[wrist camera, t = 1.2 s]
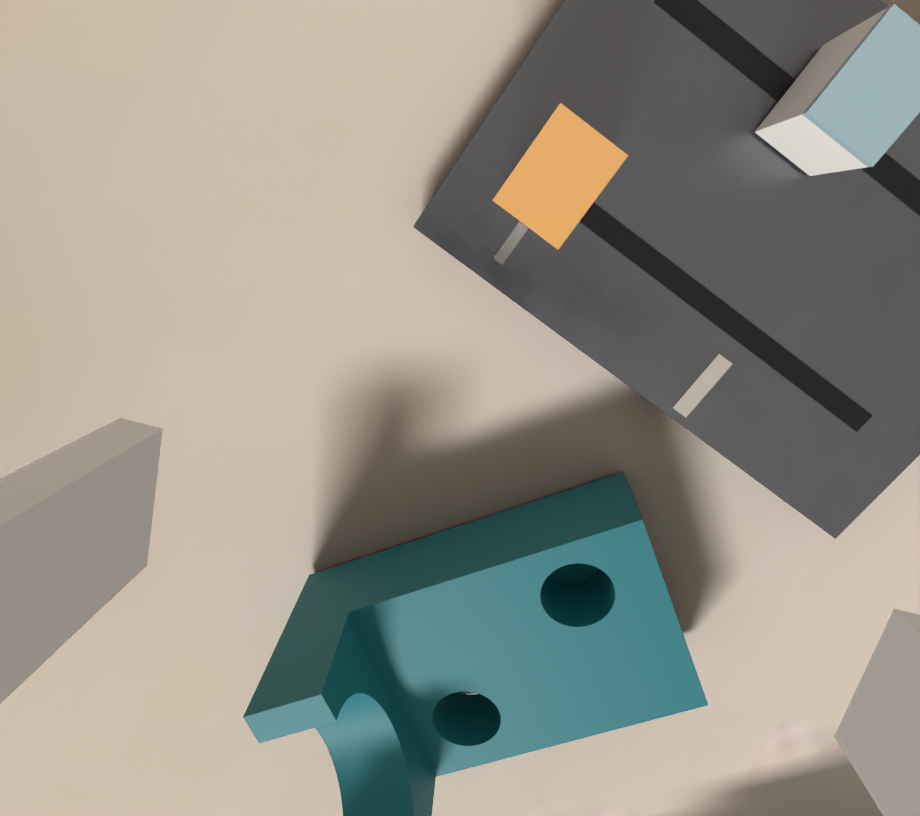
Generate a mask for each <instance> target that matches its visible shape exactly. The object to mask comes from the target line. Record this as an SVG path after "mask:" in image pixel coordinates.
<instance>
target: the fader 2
mask: <svg viewBox="0 0 920 816" xmlns="http://www.w3.org/2000/svg"><path fill="white" fill-rule="evenodd" d="M919 113H920V25H919V24H918V23H917V22H916V21H915V20H913V19H912V18H911V17H910V16H909V15H907V14H906V13H905V12H904V11H903V10H901V9H900V8H899V7H898V6H897V5H895V4H893V5H891V6H889V7H888V8H886V9H884V10H882V11H881V12H879V13H877V14H875V15H874V16H872V17H870V18H869V19H867V20H865V21H863V22H862V23H860V24H858V25H856V26H855V27H853V28H851V29H850V30H848V31H846V32H844V33H843V34H841V35H839V36H837V37H836V38H834V39H832V40H830V41H829V42H827V43H825V44H824V45H823V46H822V47H821V48H820V50H819V51H818V52H817V53H816V55H815V56H814V57H813V59H812V60H811V61H810V62H809V64H808V65H807V66H806V67H805V69H804V70H803V71H802V72H801V74H800V75H799V76H798V78H797V79H796V80H795V81H794V83H793V84H792V85H791V86H790V88H789V89H788V90H787V91H786V93H785V94H784V95H783V97H782V98H781V99H780V100H779V102H778V103H777V104H776V105H775V107H774V108H773V109H772V110H771V112H770V113H769V114H768V116H767V117H766V118H765V119H764V121H763V122H762V123H761V124H760V126H759V127H758V128H757V129H756V131H755V133H756V134H757V135H759V136H760V137H761V138H763V139H764V140H765V141H766V142H768V143H769V144H770V145H771V146H773V147H774V148H775V149H776V150H778V151H779V152H780V153H781V154H783V155H784V156H785V157H786V158H788V159H789V160H790V161H791V162H793V163H794V164H795V165H796V166H798V167H799V168H800V169H801V170H803V171H804V172H805V173H806V174H808V175H809V176H813V175H820V174H827V173H833V172H840V171H847V170H853V169H860V168H866V167H873V166H874V165H875V164H876V163H877V162H878V160H879V159H880V158H881V157H882V156H883V155H884V153H885V152H886V151H887V150H888V149H889V148H890V146H891V145H892V144H893V143H894V142H895V141H896V139H897V138H898V137H899V136H900V135H901V134H902V132H903V131H904V130H905V129H906V128H907V127H908V125H909V124H910V123H911V122H912V121H913V120H914V118H915V117H916V116H917V115H918V114H919Z"/></svg>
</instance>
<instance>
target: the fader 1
mask: <svg viewBox="0 0 920 816" xmlns="http://www.w3.org/2000/svg"><path fill="white" fill-rule="evenodd" d="M627 157H628V155H627V154H626V153H625V152H623V151H622V150H621V149H620V148H618V147H617V146H616V145H614V144H613V143H612V142H610V141H609V140H608V139H607V138H605V137H604V136H603V135H601V134H600V133H599V132H598V131H596V130H595V129H594V128H592V127H591V126H590V125H589V124H587V123H586V122H585V121H583V120H582V119H581V118H580V117H578V116H577V115H576V114H574V113H573V112H572V111H571V110H569V109H568V108H567V107H565V106H564V105H563V104H562V103H560V104H559V105H558V107H557V108H556V110H555V111H554V113H553V114H552V115H551V117H550V118H549V120H548V121H547V123H546V124H545V126H544V127H543V128H542V130H541V131H540V133H539V134H538V136H537V137H536V138H535V140H534V141H533V143H532V144H531V146H530V147H529V148H528V150H527V151H526V153H525V154H524V156H523V157H522V159H521V160H520V161H519V163H518V164H517V166H516V167H515V169H514V170H513V171H512V173H511V174H510V176H509V177H508V179H507V180H506V181H505V183H504V184H503V186H502V187H501V189H500V190H499V192H498V193H497V194H496V196H495V197H494V199H493V200H492V201H494V202H495V203H496V204H498V205H499V206H500V207H502V208H503V209H504V210H506V211H507V212H508V213H510V214H511V215H512V216H514V217H515V218H516V219H518V220H519V221H520V222H522V223H523V224H524V225H526V226H527V227H528V228H530V229H531V230H532V231H534V232H535V233H536V234H538V235H539V236H540V237H542V238H543V239H544V240H546V241H547V242H548V243H550V244H551V245H552V246H554V247H555V248H556V249H558V250H559V248H560V247H561V246H562V244H563V243H564V241H565V240H566V239H567V237H568V236H569V235H570V233H571V232H572V231H573V229H574V228H575V227H576V225H577V224H578V223H579V221H580V220H581V219H582V217H583V216H584V215H585V213H586V212H587V210H588V209H589V208H590V206H591V205H592V204H593V202H594V201H595V200H596V198H597V197H598V196H599V194H600V193H601V192H602V190H603V189H604V188H605V186H606V185H607V184H608V182H609V181H610V180H611V178H612V177H613V175H614V174H615V173H616V171H617V170H618V169H619V167H620V166H621V165H622V163H623V162H624V161H625V159H626V158H627Z"/></svg>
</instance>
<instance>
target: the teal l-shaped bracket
mask: <svg viewBox="0 0 920 816" xmlns="http://www.w3.org/2000/svg"><path fill="white" fill-rule="evenodd" d="M458 692H474V693H478V694H476V695H466V694H461V693H458ZM706 705H708V703H707V700H706V698H705V695H704V692H703V689H702V686H701V683H700V681H699V678H698V675H697V672H696V669H695V666H694V664H693V661H692V658H691V655H690V652H689V649H688V647H687V644H686V641H685V638H684V635H683V632H682V630H681V627H680V624H679V621H678V618H677V615H676V613H675V610H674V607H673V604H672V601H671V598H670V596H669V593H668V590H667V587H666V584H665V581H664V579H663V576H662V573H661V570H660V567H659V564H658V562H657V559H656V556H655V553H654V550H653V547H652V545H651V542H650V539H649V536H648V533H647V530H646V528H645V525H644V522H643V519H642V517H641V514H640V512H639V509H638V507H637V504H636V502H635V499H634V497H633V494H632V492H631V489H630V487H629V485H628V482H627V480H626V477H625V475H624V472H621V473H618V474H615V475H612V476H609V477H605V478H602V479H599V480H596V481H593V482H590V483H587V484H584V485H581V486H578V487H575V488H572V489H569V490H566V491H563V492H560V493H557V494H554V495H551V496H548V497H545V498H542V499H539V500H536V501H533V502H530V503H526V504H523V505H520V506H517V507H514V508H511V509H508V510H505V511H502V512H499V513H496V514H493V515H490V516H487V517H484V518H481V519H478V520H475V521H472V522H469V523H466V524H463V525H460V526H457V527H454V528H451V529H447V530H444V531H441V532H438V533H435V534H432V535H429V536H426V537H423V538H420V539H417V540H414V541H411V542H408V543H405V544H402V545H399V546H396V547H393V548H390V549H387V550H384V551H381V552H378V553H375V554H372V555H368V556H365V557H362V558H359V559H356V560H353V561H350V562H347V563H344V564H341V565H338V566H335V567H332V568H329V569H326V570H323V571H320V572H317V573H314V574H311V575H309V577H308V579H307V581H306V583H305V585H304V588H303V590H302V592H301V594H300V596H299V598H298V600H297V603H296V605H295V607H294V609H293V611H292V613H291V616H290V618H289V620H288V622H287V624H286V626H285V628H284V631H283V633H282V635H281V637H280V639H279V641H278V644H277V646H276V648H275V650H274V652H273V654H272V656H271V659H270V661H269V663H268V665H267V667H266V669H265V672H264V674H263V676H262V678H261V680H260V682H259V684H258V687H257V689H256V691H255V693H254V695H253V697H252V699H251V702H250V704H249V706H248V708H247V710H246V712H245V715H244V717H243V718H244V719H245V721H246V723H247V724H248V726H249V728H250V729H251V731H252V732H253V734H254V736H255V737H256V739H257V740H258V742H259V743H262V742H265V741H269V740H272V739H276V738H279V737H283V736H286V735H290V734H293V733H297V732H300V731H304V730H307V729H311V728H314V727H315V728H316V730H317V731H318V732H319V734H320V735H321V737H322V738H323V740H324V742H325V744H326V746H327V748H328V750H329V753H330V755H331V757H332V760H333V763H334V766H335V770H336V773H337V777H338V781H339V786H340V792H341V798H342V806H343V816H431V815H432V806H433V796H434V786H435V777H436V776H440V775H444V774H448V773H452V772H455V771H459V770H463V769H467V768H471V767H474V766H478V765H482V764H486V763H490V762H493V761H497V760H501V759H505V758H509V757H512V756H516V755H520V754H524V753H528V752H531V751H535V750H539V749H543V748H547V747H550V746H554V745H558V744H562V743H566V742H569V741H573V740H577V739H581V738H585V737H588V736H592V735H596V734H600V733H604V732H607V731H611V730H615V729H619V728H623V727H627V726H630V725H634V724H638V723H642V722H646V721H649V720H653V719H657V718H661V717H665V716H668V715H672V714H676V713H680V712H684V711H687V710H691V709H695V708H699V707H703V706H706Z"/></svg>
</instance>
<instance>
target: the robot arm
mask: <svg viewBox="0 0 920 816" xmlns="http://www.w3.org/2000/svg"><path fill="white" fill-rule="evenodd" d="M161 437H162V428H158V427H154V426H150V425H146V424H142V423H138V422H134V421H130V420H126V419H122V418H120V419H118V420H116V421H114V422H112V423H110V424H108V425H106V426H104V427H102V428H100V429H98V430H96V431H94V432H92V433H90V434H88V435H86V436H84V437H82V438H80V439H78V440H76V441H74V442H72V443H70V444H68V445H66V446H64V447H62V448H60V449H58V450H56V451H55V452H53V453H51V454H49V455H47V456H45V457H43V458H41V459H39V460H37V461H35V462H33V463H31V464H29V465H27V466H25V467H23V468H21V469H19V470H17V471H15V472H13V473H11V474H9V475H7V476H5V477H3V478H1V479H0V703H2V702H3V701H4V700H5V699H6V698H7V697H8V696H9V695H10V694H11V693H12V692H13V691H14V690H15V689H16V688H17V687H18V686H20V685H21V684H22V683H23V682H24V681H25V680H26V679H27V678H28V677H29V676H30V675H31V674H32V673H33V672H34V671H35V670H36V669H38V668H39V667H40V666H41V665H42V664H43V663H44V662H45V661H46V660H47V659H48V658H49V657H50V656H51V655H52V654H53V653H54V652H56V651H57V650H58V649H59V648H60V647H61V646H62V645H63V644H64V643H65V642H66V641H67V640H68V639H69V638H70V637H71V636H73V635H74V634H75V633H76V632H77V631H78V630H79V629H80V628H81V627H82V626H83V625H84V624H85V623H86V622H87V621H88V620H89V619H91V618H92V617H93V616H94V615H95V614H96V613H97V612H98V611H99V610H100V609H101V608H102V607H103V606H104V605H105V604H106V603H107V602H109V601H110V600H111V599H112V598H113V597H114V596H115V595H116V594H117V593H118V592H119V591H120V590H121V589H122V588H123V587H124V586H125V585H127V584H128V583H129V582H130V581H131V580H132V579H133V578H134V577H135V576H136V575H137V574H138V573H139V572H140V571H141V570H142V569H143V568H145V567H146V566H147V559H148V551H149V542H150V533H151V524H152V516H153V507H154V498H155V489H156V481H157V472H158V463H159V454H160V446H161ZM834 737H835V738H836V740H837V742H838V743H839V745H840V746H841V748H842V750H843V751H844V753H845V754H846V756H847V758H848V759H849V761H850V763H851V764H852V766H853V767H854V769H855V771H856V772H857V774H858V776H859V777H860V779H861V780H862V782H863V784H864V785H865V787H866V788H867V790H868V792H869V793H870V795H871V796H872V798H873V800H874V801H875V803H876V805H877V806H878V808H879V810H880V811H881V813H882V814H883V816H920V615H917V614H913V613H909V612H905V611H901V610H897V609H894V610H893V612H892V614H891V617H890V619H889V621H888V623H887V625H886V627H885V629H884V632H883V634H882V636H881V638H880V640H879V642H878V644H877V646H876V649H875V651H874V653H873V655H872V657H871V659H870V661H869V664H868V666H867V668H866V670H865V672H864V674H863V676H862V679H861V681H860V683H859V685H858V687H857V689H856V691H855V693H854V696H853V698H852V700H851V702H850V704H849V706H848V708H847V711H846V713H845V715H844V717H843V719H842V721H841V723H840V725H839V728H838V730H837V732H836V734H835V736H834Z"/></svg>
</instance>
